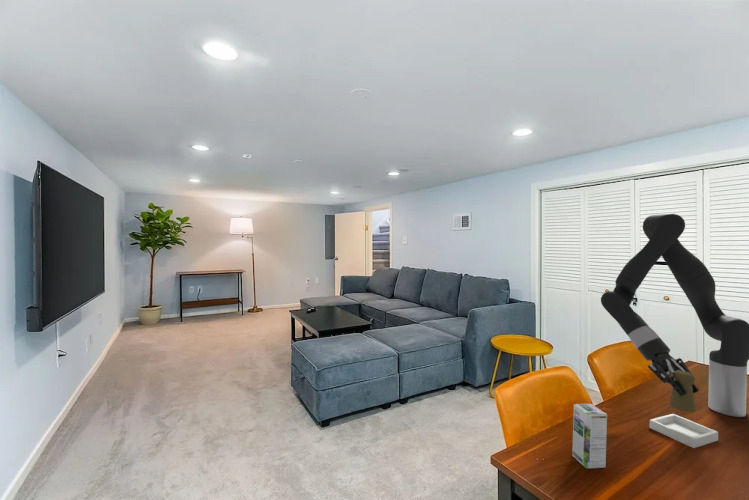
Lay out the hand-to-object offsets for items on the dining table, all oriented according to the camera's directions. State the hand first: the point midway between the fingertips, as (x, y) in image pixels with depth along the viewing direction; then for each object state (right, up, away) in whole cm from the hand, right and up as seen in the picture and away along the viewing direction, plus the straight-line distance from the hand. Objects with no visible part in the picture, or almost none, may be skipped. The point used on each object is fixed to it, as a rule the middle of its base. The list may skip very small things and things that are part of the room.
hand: (690, 393), depth 104 cm
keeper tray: (-1, -13, +2) cm, 14 cm away
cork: (-1, -5, +2) cm, 6 cm away
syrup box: (-38, -14, -12) cm, 42 cm away
